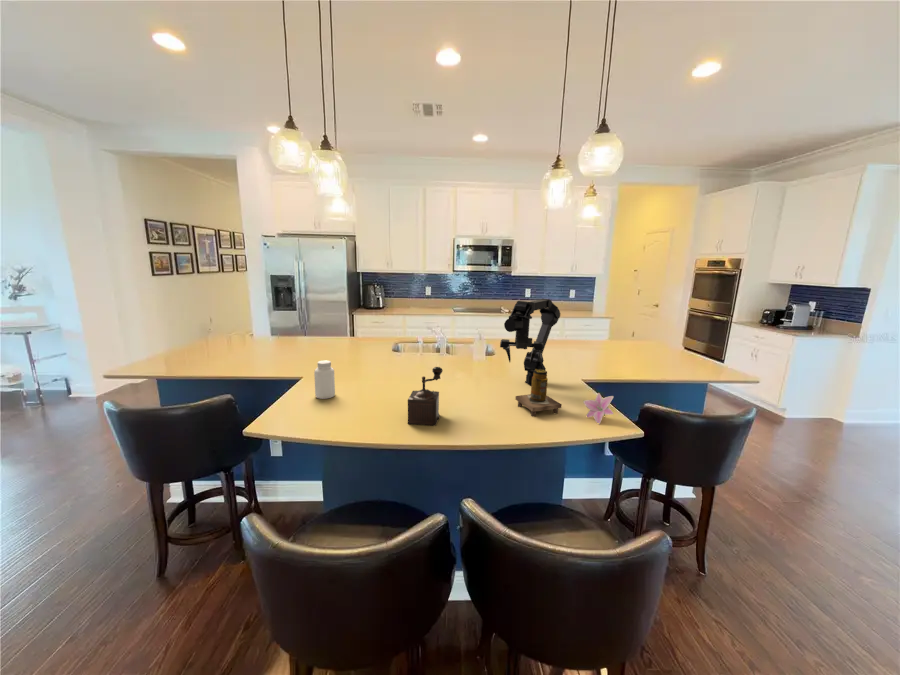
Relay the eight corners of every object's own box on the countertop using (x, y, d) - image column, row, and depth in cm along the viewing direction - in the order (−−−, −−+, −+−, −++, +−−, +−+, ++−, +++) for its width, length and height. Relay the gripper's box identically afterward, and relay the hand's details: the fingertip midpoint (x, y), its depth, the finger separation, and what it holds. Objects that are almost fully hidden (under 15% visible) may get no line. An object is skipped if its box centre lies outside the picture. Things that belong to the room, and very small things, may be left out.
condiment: (545, 396, 152) (547, 368, 150) (549, 404, 144) (552, 374, 142) (527, 395, 152) (529, 367, 150) (530, 403, 144) (533, 374, 142)
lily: (581, 413, 149) (576, 396, 144) (609, 403, 148) (606, 386, 143) (593, 434, 139) (589, 417, 134) (624, 424, 138) (621, 406, 133)
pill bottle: (339, 394, 159) (337, 360, 156) (325, 400, 152) (324, 365, 149) (325, 391, 162) (323, 358, 159) (311, 397, 155) (309, 362, 152)
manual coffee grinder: (437, 426, 131) (438, 378, 128) (406, 424, 132) (407, 376, 129) (442, 409, 147) (443, 365, 143) (414, 407, 147) (415, 364, 144)
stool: (541, 401, 157) (542, 392, 156) (560, 413, 145) (561, 404, 144) (514, 405, 153) (515, 396, 152) (532, 417, 141) (532, 407, 140)
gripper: (500, 331, 158) (498, 366, 162) (545, 334, 155) (542, 369, 159) (501, 326, 169) (499, 359, 172) (543, 329, 166) (540, 362, 169)
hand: (520, 363), depth 168 cm, fingers open, 9 cm apart
